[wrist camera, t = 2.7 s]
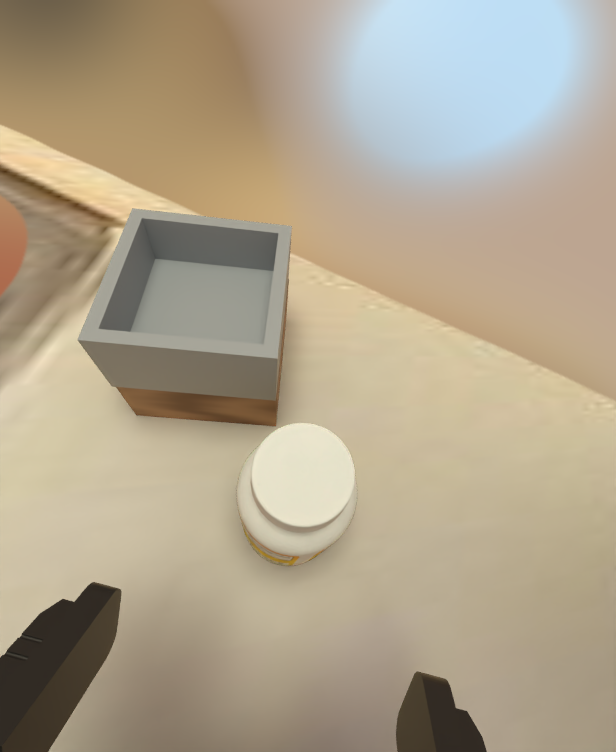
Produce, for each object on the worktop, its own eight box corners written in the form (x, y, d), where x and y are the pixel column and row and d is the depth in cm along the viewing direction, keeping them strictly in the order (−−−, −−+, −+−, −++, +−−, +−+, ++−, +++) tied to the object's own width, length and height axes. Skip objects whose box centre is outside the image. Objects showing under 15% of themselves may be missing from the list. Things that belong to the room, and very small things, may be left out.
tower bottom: (286, 319, 30) (288, 279, 26) (275, 427, 26) (277, 397, 22) (168, 308, 30) (153, 265, 26) (137, 416, 25) (114, 384, 21)
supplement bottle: (249, 576, 21) (238, 564, 13) (238, 479, 24) (222, 416, 15) (344, 554, 22) (391, 531, 14) (323, 464, 25) (352, 397, 16)
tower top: (288, 280, 26) (291, 226, 22) (275, 400, 22) (277, 358, 18) (152, 266, 26) (132, 208, 22) (112, 386, 21) (77, 339, 18)
